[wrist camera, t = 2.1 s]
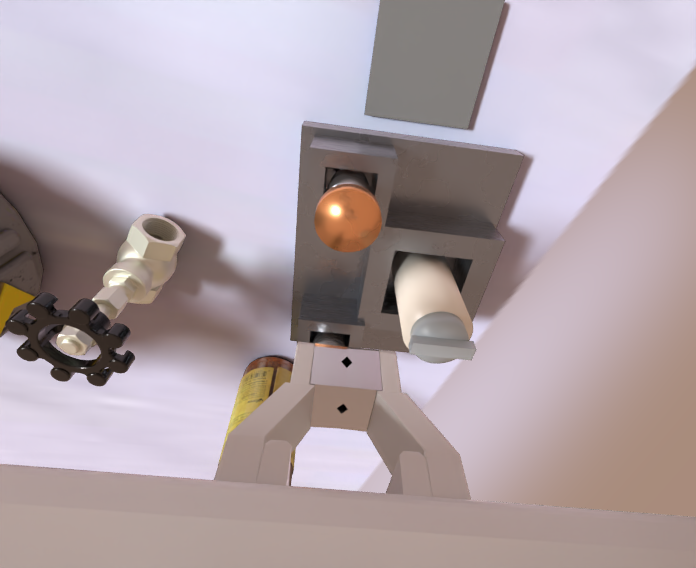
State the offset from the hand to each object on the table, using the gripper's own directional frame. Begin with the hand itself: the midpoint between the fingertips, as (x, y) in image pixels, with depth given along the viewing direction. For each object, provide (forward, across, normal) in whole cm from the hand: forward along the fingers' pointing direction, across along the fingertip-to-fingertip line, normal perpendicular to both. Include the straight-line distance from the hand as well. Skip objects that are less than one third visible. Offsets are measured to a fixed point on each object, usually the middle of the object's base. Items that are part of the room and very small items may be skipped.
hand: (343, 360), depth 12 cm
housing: (+19, -4, +6) cm, 20 cm away
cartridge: (+18, -6, +6) cm, 20 cm away
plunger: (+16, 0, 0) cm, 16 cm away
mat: (+19, -4, -8) cm, 21 cm away
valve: (+19, +15, +8) cm, 26 cm away
